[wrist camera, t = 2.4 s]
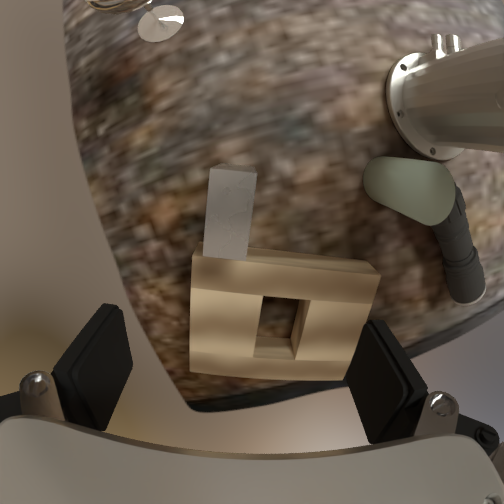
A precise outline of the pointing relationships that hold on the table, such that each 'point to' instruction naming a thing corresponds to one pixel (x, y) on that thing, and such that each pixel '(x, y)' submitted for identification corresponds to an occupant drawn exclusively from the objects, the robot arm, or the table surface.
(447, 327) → the table surface
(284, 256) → the socket block
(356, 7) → the table surface
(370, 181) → the round bit
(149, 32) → the wineglass
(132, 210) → the table surface
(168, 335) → the table surface
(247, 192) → the block
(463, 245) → the flashlight
